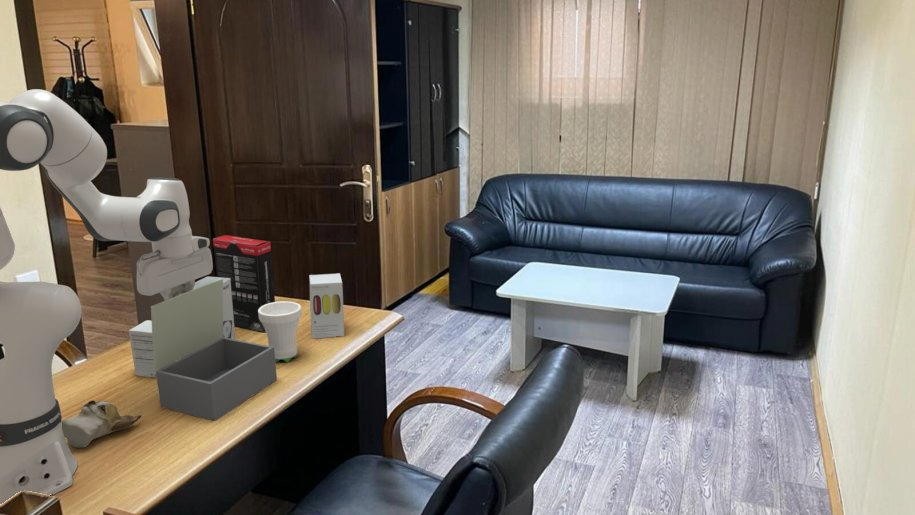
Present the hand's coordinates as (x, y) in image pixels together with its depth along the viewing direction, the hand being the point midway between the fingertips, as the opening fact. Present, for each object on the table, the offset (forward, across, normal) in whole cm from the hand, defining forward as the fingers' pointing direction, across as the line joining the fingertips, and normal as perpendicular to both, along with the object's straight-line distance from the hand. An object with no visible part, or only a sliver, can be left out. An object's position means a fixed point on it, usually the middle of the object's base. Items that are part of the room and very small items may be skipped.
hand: (179, 302), depth 161 cm
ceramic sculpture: (+22, -25, +1) cm, 34 cm away
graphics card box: (+22, +38, +14) cm, 46 cm away
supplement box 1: (+22, +3, +14) cm, 27 cm away
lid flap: (+5, 0, -3) cm, 5 cm away
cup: (+22, +23, -10) cm, 34 cm away
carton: (+22, 0, -10) cm, 24 cm away
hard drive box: (+22, +17, +10) cm, 30 cm away
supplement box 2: (+22, +43, -11) cm, 50 cm away
